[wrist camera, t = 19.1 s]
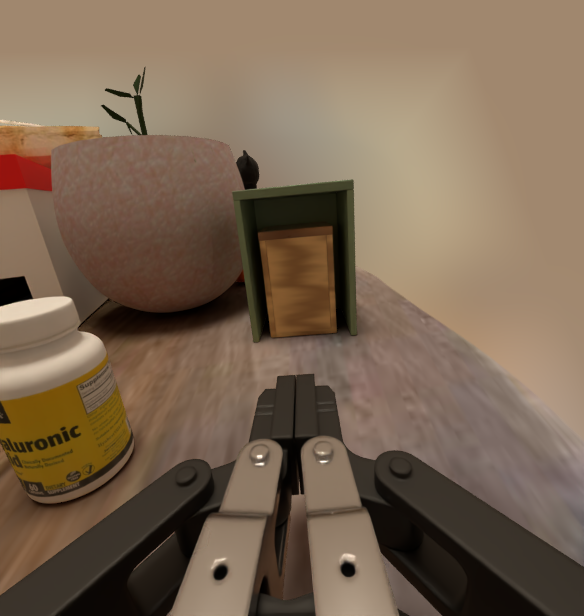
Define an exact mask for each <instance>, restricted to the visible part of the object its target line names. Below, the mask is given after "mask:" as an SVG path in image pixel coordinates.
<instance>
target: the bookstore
mask: <svg viewBox="0 0 584 616" xmlns="http://www.w3.org/2000/svg"><path fill="white" fill-rule="evenodd" d="M59 296H60V297H69V298H71V299H72V300H73V302H74V305H75V308H76V310H77V313H78V316H79V320H80V324H81V323H82V322H83V321H84V320H85V319H86V318H87V317H89V316H90V315H91V314H92V313H93V312H94V311H95V310H96V309H97V308H98V307H100V306H101V305H102V304H103V303H104V302H105V301H106V300H107V299H108V297H106V296H105V295H103V294H102V293H101V292H99V291H98V290H97V289H96V288H95V287H94V286H93V285H92V284H91V283H90V282H89V281H88V280H87V279H86V277H85V276H84V275H83V274H82V272H81V271H80V270H79V268H78V267H77V265H76V264H75V262H74V261H73V259H72V257H71V256H70V254H69V252H68V250H67V248H66V246H65V244H64V242H63V240H62V237H61V234H60V231H59V228H58V224H57V220H56V215H55V209H54V202H53V193H52V177H51V169H50V168H47V167H45V166H42V165H40V164H38V163H35V162H33V161H30V160H28V159H26V158H23V157H21V156H18V155H16V154H7V155H0V306H4V305H8V304H12V303H16V302H21V301H26V300H32V299H38V298H45V297H59Z"/></svg>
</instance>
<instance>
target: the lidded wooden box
mask: <svg viewBox="0 0 584 616" xmlns="http://www.w3.org/2000/svg"><path fill="white" fill-rule="evenodd" d="M332 234H333V226H332V225H330V224H329V223H328V222H326V221H323V222H312V223H301V224H290V225H279V226H268V227H264V228H263V229H262V230H261V231H259V232H258V240H259V243H260V251H261V259H262V267H263V276H264V284H265V292H266V300H267V308H268V317H269V325H270V333H271V338H274V337H288V336H301V335H315V334H328V333H337V325H336V302H335V280H334V257H333V235H332Z"/></svg>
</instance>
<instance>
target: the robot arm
mask: <svg viewBox="0 0 584 616" xmlns="http://www.w3.org/2000/svg"><path fill="white" fill-rule="evenodd" d="M299 481H300V491H301V494H305V505H306V516H307V527H308V538H309V549H310V559H311V570H312V581H313V591H314V592H312V593H309V594H307V595H304V596H301V597H298V598H295V599H292V600H283V587H284V576H285V567H286V558H287V549H288V540H289V531H290V521H291V516H290V511H291V497H292V495H299ZM174 531H175V533H174V534H173V535H172V536H171V537H170V538H169V539H168V540H167V541H165V542H164V543H163V544H162V545H161V546H160V547H159V548H158V549H157V550H156V551H154V552H153V553H152V554H151V555H150V556H149V557H148V558H147V559H146V560H145V561H143V562H142V563H141V564H140V565H139V566H138V567H137V568H136V569H135V570H134V568H135V567H136V566H137V565H138V564H139V563H140V562H141V561H142V560H143V559H145V558H146V557H147V556H148V555H149V554H150V553H151V552H152V551H153V550H154V549H156V548H157V547H158V546H159V545H160V544H161V543H162V542H163V541H164V540H166V539H167V538H168V537H169V536H170V535H171V534H172V533H173V532H174ZM381 553H382V554H383V555H384V556H385V557H386V558H387V559H388V561H389V562H390V563H391V564H392V565H393V566H394V567H395V568H396V569H397V570H398V571H399V572H400V573H401V574H402V575H403V576H404V577H405V578H406V579H407V580H408V581H409V582H410V583H411V584H412V585H413V586H414V587H415V588H416V589H417V590H418V591H419V592H420V593H421V594H422V595H423V596H424V597H425V598H426V599H427V600H428V601H429V602H430V604H431V605H432V606H433V607H434V608H435V609H436V610H437V611H438V612H439V613H440V614H441V615H442V616H584V567H583V566H581V565H580V564H578V563H577V562H575V561H574V560H572V559H571V558H569V557H568V556H566V555H564V554H563V553H561V552H560V551H558V550H557V549H555V548H554V547H552V546H551V545H549V544H548V543H546V542H545V541H543V540H542V539H540V538H538V537H537V536H535V535H534V534H532V533H531V532H529V531H528V530H526V529H525V528H523V527H522V526H520V525H519V524H517V523H516V522H514V521H513V520H511V519H509V518H508V517H506V516H505V515H503V514H502V513H500V512H499V511H497V510H496V509H494V508H493V507H491V506H490V505H488V504H487V503H485V502H484V501H482V500H480V499H479V498H477V497H476V496H474V495H473V494H471V493H470V492H468V491H467V490H465V489H464V488H462V487H461V486H459V485H458V484H456V483H455V482H453V481H451V480H450V479H448V478H447V477H445V476H444V475H442V474H441V473H439V472H438V471H436V470H435V469H433V468H432V467H430V466H429V465H427V464H425V463H424V462H422V461H421V460H419V459H418V458H416V457H415V456H413V455H411V454H409V453H406V452H403V451H395V450H394V451H387V452H384V453H382V454H381V455H379V456H378V457H377V459H376V461H375V460H371V459H367V458H363V457H360V456H357V455H355V454H354V453H352V452H351V451H350V450H348V449H347V447H346V446H345V444H344V442H343V439H342V434H341V428H340V422H339V416H338V411H337V405H336V399H335V393H334V392H333V391H332V389H331V388H330V387H329V386H328V385H327V386H315V381H314V374H303V375H297V377H296V376H295V375H288V376H278V377H277V384H276V389H265V390H264V392H263V393H262V394H261V395H260V396H259V398H258V403H257V408H256V412H255V416H254V421H253V426H252V430H251V435H250V439H249V443H248V444H246V445H245V446H244V447H243V448H242V449H241V451H240V452H239V454H238V457H237V459H236V460H235V461H233V462H231V463H229V464H226V465H223V466H220V467H217V468H214V469H211V468H210V465H209V464H208V463H207V462H205V461H204V460H200V459H191V460H187V461H184V462H182V463H180V464H178V465H176V466H175V467H173V468H172V469H171V470H169V471H168V472H167V473H165V474H164V475H163V476H161V477H160V478H158V479H157V480H156V481H154V482H153V483H152V484H150V485H149V486H148V487H146V488H145V489H144V490H142V491H141V492H140V493H138V494H137V495H135V496H134V497H133V498H131V499H130V500H129V501H127V502H126V503H125V504H123V505H122V506H121V507H119V508H118V509H117V510H115V511H114V512H113V513H111V514H110V515H108V516H107V517H106V518H104V519H103V520H102V521H100V522H99V523H98V524H96V525H95V526H94V527H92V528H91V529H90V530H88V531H87V532H85V533H84V534H83V535H81V536H80V537H79V538H77V539H76V540H75V541H73V542H72V543H71V544H69V545H68V546H67V547H65V548H64V549H63V550H61V551H60V552H58V553H57V554H56V555H54V556H53V557H52V558H50V559H49V560H48V561H46V562H45V563H44V564H42V565H41V566H40V567H38V568H37V569H36V570H34V571H33V572H31V573H30V574H29V575H27V576H26V577H25V578H23V579H22V580H21V581H19V582H18V583H17V584H15V585H14V586H13V587H11V588H10V589H8V590H7V591H6V592H4V593H3V594H2V595H0V616H166V615H167V614H168V613H169V612H170V610H171V609H172V611H171V613H170V616H409V615H407V614H406V613H404V612H402V611H401V610H399V609H397V606H396V603H395V599H394V596H393V593H392V589H391V586H390V582H389V579H388V576H387V572H386V569H385V566H384V562H383V559H382V556H381ZM133 570H134V571H133Z"/></svg>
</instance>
